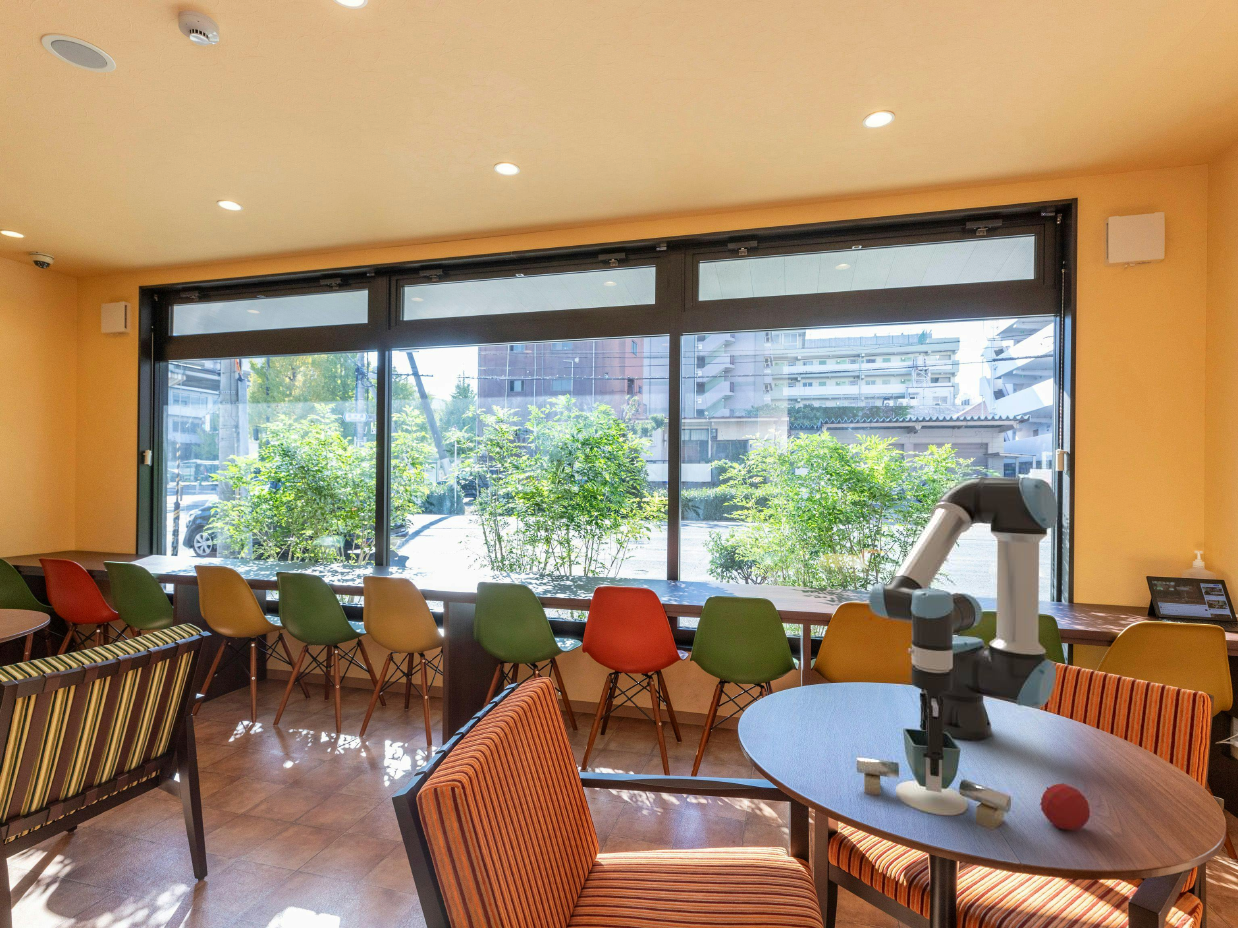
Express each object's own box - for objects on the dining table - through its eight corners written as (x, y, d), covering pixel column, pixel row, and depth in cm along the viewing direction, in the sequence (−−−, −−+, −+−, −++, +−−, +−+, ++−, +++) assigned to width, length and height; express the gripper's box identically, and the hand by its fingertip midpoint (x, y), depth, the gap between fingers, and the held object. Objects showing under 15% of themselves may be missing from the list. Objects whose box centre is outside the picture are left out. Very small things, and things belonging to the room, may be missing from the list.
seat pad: (938, 780, 137) (938, 778, 137) (983, 812, 124) (983, 810, 124) (882, 784, 134) (882, 782, 134) (922, 818, 121) (922, 815, 121)
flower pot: (961, 795, 124) (961, 749, 124) (912, 790, 125) (912, 744, 126) (947, 775, 132) (947, 731, 132) (901, 770, 134) (902, 727, 134)
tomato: (1089, 791, 115) (1052, 764, 122) (1057, 819, 114) (1021, 790, 122) (1105, 819, 117) (1068, 791, 124) (1073, 846, 117) (1038, 817, 124)
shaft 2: (956, 814, 123) (957, 783, 123) (967, 806, 126) (967, 775, 126) (1002, 833, 117) (1002, 800, 117) (1012, 823, 120) (1013, 791, 120)
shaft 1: (897, 787, 133) (897, 758, 133) (899, 798, 129) (899, 768, 129) (856, 780, 136) (856, 752, 136) (856, 791, 131) (856, 761, 132)
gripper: (907, 651, 141) (906, 754, 140) (916, 680, 120) (915, 801, 120) (945, 655, 138) (944, 760, 138) (960, 685, 118) (960, 809, 118)
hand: (930, 779), depth 129 cm, fingers closed on flower pot, 9 cm apart
